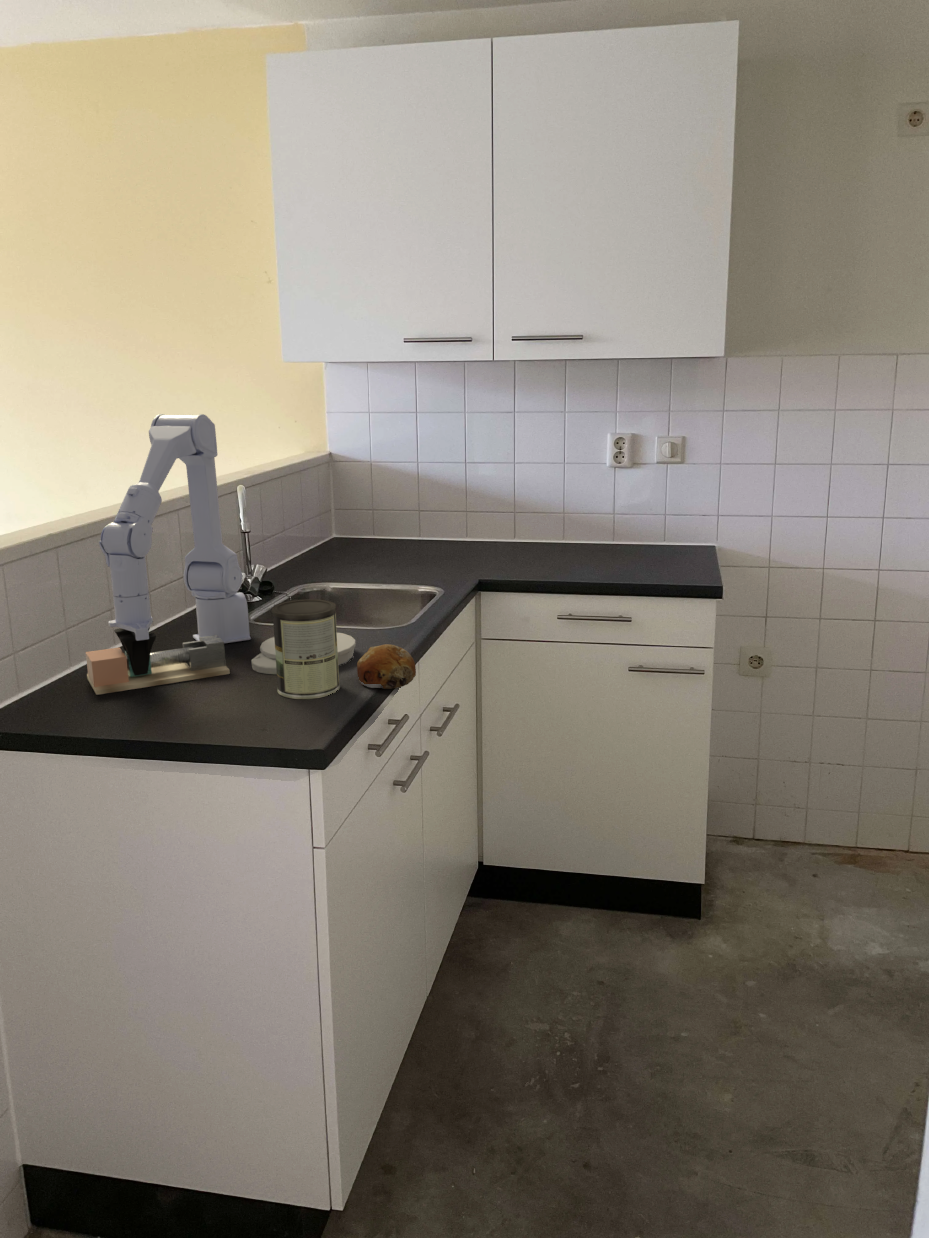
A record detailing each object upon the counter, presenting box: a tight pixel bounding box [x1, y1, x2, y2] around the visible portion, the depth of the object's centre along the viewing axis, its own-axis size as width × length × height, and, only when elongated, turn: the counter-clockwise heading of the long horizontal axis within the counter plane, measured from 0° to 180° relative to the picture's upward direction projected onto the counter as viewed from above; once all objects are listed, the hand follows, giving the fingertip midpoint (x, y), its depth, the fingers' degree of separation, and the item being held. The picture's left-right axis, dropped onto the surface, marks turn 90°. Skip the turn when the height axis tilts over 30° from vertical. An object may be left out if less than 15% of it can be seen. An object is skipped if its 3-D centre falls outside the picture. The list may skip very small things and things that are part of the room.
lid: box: [250, 632, 357, 675], centre depth 179 cm, size 17×20×3 cm
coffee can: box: [271, 598, 341, 700], centre depth 161 cm, size 10×10×14 cm
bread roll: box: [356, 643, 417, 690], centre depth 166 cm, size 10×10×8 cm
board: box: [86, 663, 231, 696], centre depth 170 cm, size 22×10×1 cm, turn 118°
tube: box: [124, 647, 193, 677], centre depth 169 cm, size 15×3×4 cm, turn 118°
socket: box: [85, 646, 129, 687], centre depth 166 cm, size 6×6×4 cm
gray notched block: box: [182, 635, 227, 671], centre depth 173 cm, size 6×5×4 cm
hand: (138, 671), depth 168 cm, fingers closed on tube, 3 cm apart
